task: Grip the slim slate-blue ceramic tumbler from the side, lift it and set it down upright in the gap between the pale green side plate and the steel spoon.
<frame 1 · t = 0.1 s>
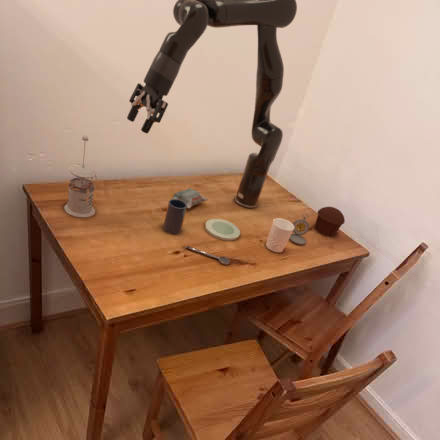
hand: (136, 126, 128), 31 cm above the table, tool tilted 20°, fingers open, 8 cm apart
white cup: (274, 247, 158), on the table
packaged food: (188, 204, 167), on the table
pocket watch: (296, 239, 168), on the table
french press: (81, 209, 144), on the table
spoon: (210, 256, 142), on the table
muffin: (324, 230, 181), on the table
tumbler: (172, 229, 149), on the table
side plate: (222, 230, 158), on the table
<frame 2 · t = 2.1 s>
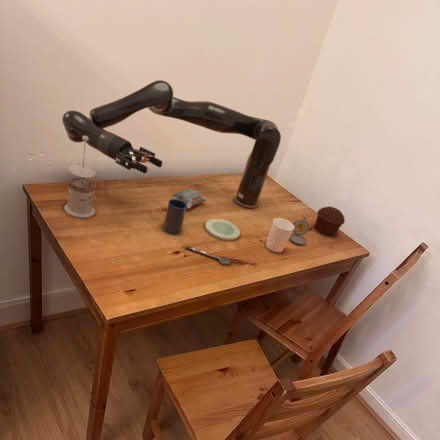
hand: (154, 167, 140), 18 cm above the table, tool horizontal, fingers open, 8 cm apart
nothing on the table moved.
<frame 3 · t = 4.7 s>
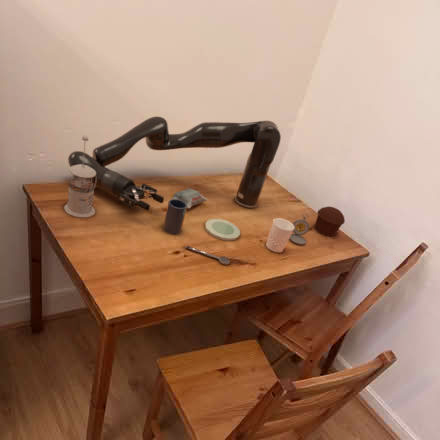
hand: (156, 204, 147), 6 cm above the table, tool horizontal, fingers open, 8 cm apart
nothing on the table moved.
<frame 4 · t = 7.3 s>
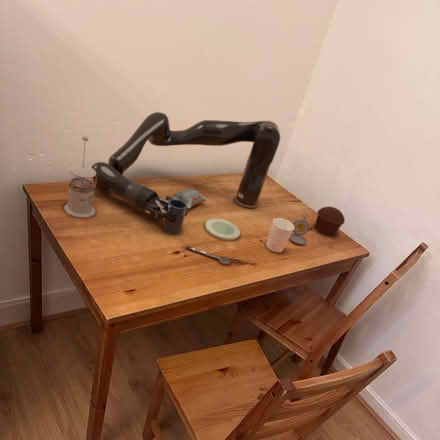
hand: (181, 217, 145), 6 cm above the table, tool horizontal, fingers closed on tumbler, 6 cm apart
tumbler: (172, 229, 149), on the table, touching gripper
everything else where it was.
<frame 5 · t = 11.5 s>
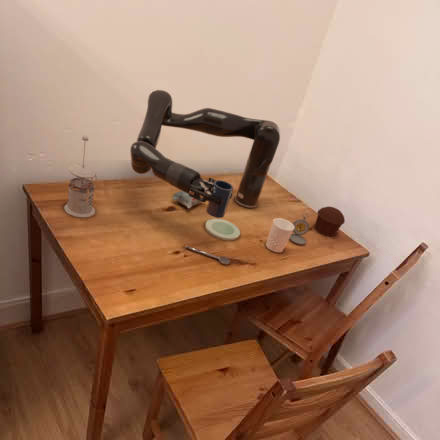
hand: (226, 199, 137), 18 cm above the table, tool horizontal, fingers closed on tumbler, 6 cm apart
tumbler: (215, 212, 141), point 12 cm above the table, touching gripper
everything else where it was.
when the fingers open (6 cm above the table, at t = 15.6 s): tumbler stays where it is, on the table.
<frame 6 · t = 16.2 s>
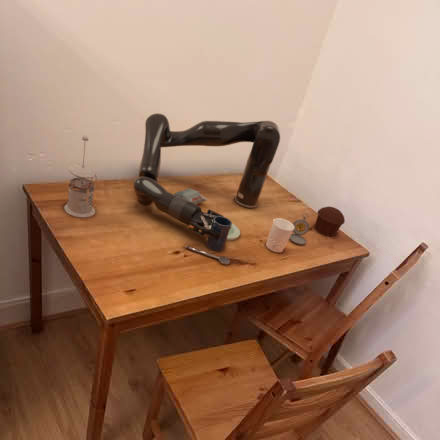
hand: (225, 231, 144), 7 cm above the table, tool horizontal, fingers open, 8 cm apart
tumbler: (214, 246, 148), on the table
everything else where it was.
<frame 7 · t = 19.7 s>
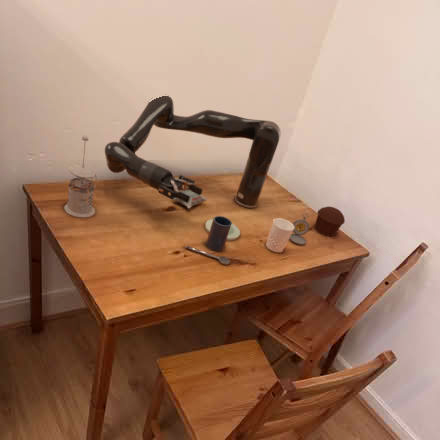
hand: (195, 195, 144), 13 cm above the table, tool horizontal, fingers open, 8 cm apart
nothing on the table moved.
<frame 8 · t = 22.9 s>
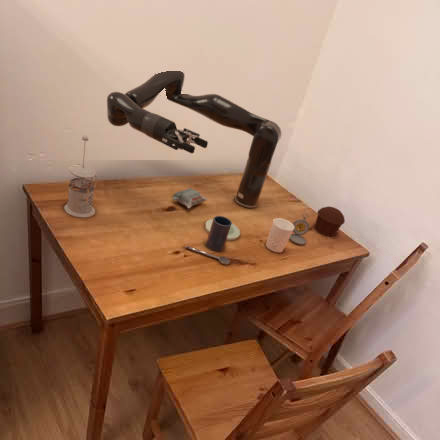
hand: (200, 147, 138), 28 cm above the table, tool horizontal, fingers open, 8 cm apart
nothing on the table moved.
at the end: tumbler inside the target area (0.5 cm from its centre), on the table; tumbler tilted 0°; the gripper is holding nothing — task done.
